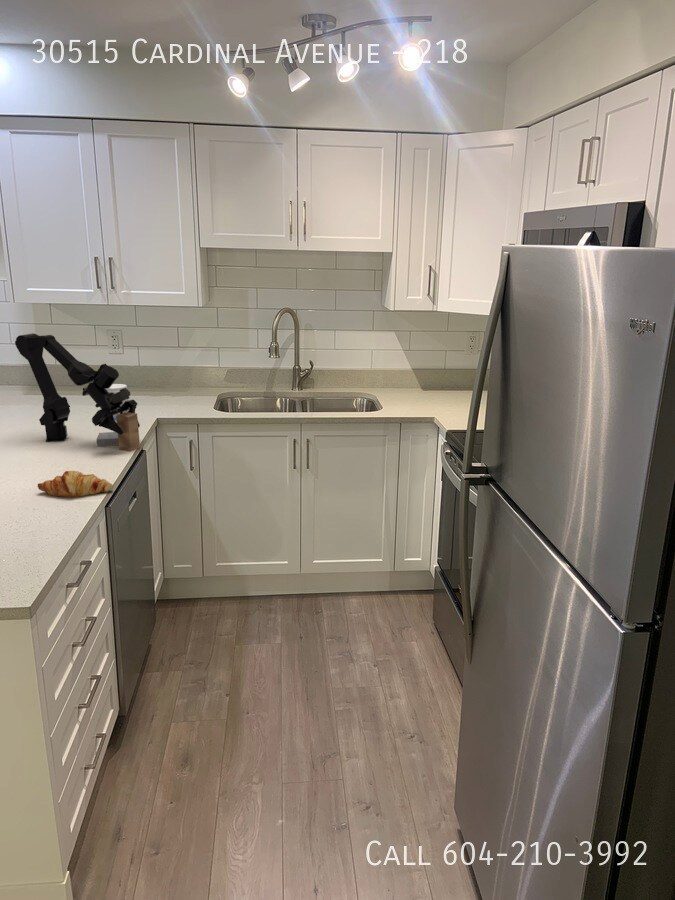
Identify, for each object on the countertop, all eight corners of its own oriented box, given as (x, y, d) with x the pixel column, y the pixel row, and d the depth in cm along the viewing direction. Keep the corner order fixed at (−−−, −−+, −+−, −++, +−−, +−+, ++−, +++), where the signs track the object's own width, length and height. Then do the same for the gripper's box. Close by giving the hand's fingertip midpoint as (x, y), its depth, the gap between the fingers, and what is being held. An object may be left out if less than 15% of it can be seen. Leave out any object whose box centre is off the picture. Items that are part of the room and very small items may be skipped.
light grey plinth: (97, 446, 233) (96, 439, 232) (99, 439, 241) (99, 432, 240) (123, 444, 235) (122, 438, 234) (125, 437, 243) (124, 431, 242)
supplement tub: (117, 425, 260) (113, 389, 255) (100, 422, 264) (96, 386, 260) (135, 420, 268) (132, 385, 263) (118, 417, 272) (115, 382, 268)
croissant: (116, 499, 194) (117, 472, 196) (108, 495, 184) (109, 467, 186) (42, 500, 192) (43, 473, 193) (30, 496, 182) (32, 468, 184)
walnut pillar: (119, 450, 229) (115, 415, 225) (128, 446, 233) (125, 412, 230) (131, 451, 227) (127, 416, 224) (140, 447, 232) (137, 413, 228)
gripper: (95, 387, 216) (125, 422, 216) (130, 377, 233) (159, 409, 233) (78, 408, 221) (108, 442, 221) (114, 397, 238) (142, 429, 238)
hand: (130, 430), depth 228 cm, fingers open, 9 cm apart
